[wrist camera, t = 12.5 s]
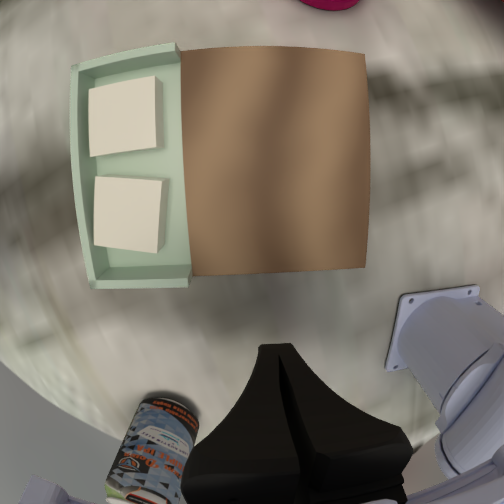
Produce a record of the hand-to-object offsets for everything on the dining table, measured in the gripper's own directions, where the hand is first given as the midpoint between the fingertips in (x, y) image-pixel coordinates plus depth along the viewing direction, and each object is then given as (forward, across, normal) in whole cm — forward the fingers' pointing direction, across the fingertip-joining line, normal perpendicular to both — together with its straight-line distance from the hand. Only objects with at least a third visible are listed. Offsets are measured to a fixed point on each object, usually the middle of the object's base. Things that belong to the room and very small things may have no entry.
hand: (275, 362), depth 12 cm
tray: (+10, +8, -8) cm, 15 cm away
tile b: (+9, +8, -11) cm, 17 cm away
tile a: (+10, +8, -5) cm, 14 cm away
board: (+10, -1, -8) cm, 13 cm away
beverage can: (+10, +10, +15) cm, 20 cm away
